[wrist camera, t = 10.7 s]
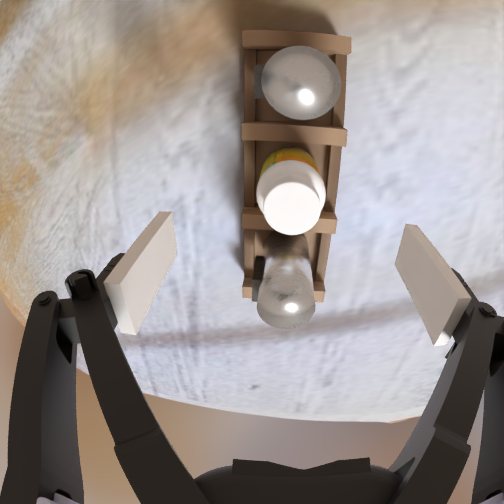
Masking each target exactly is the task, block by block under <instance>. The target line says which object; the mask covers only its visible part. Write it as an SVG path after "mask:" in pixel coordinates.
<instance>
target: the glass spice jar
mask: <svg viewBox="0 0 504 504" xmlns="http://www.w3.org/2000/svg"><path fill="white" fill-rule="evenodd" d="M252 301H255V302H257V311H258V314H259V316H260V317H261V318H262V320H264V321H265V322H266V323H267V324H269V325H271V326H274V327H277V328H285V329H288V328H295V327H298V326H301V325H303V324H305V323H306V322H307V321H309V320H310V319H311V317H312V316H313V314H314V312H315V297H314V288H313V280H312V271H311V263H310V255H309V247H308V242H307V239H306V237H305V236H304V235H303V234H302V233H301V234H297V235H287V234H283V233H280V232H278V231H276V230H275V231H273V232H272V233H271V234H270V235H269V236H268V237H267V239H266V241H265V247H264V255H263V256H259V255H256V259H255V265H254V271H253V277H252Z"/></svg>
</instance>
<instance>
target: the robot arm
mask: <svg viewBox="0 0 504 504" xmlns="http://www.w3.org/2000/svg"><path fill="white" fill-rule="evenodd" d="M176 256H177V246H176V239H175V231H174V223H173V215H172V212H159V213H158V214H157V215H156V216H155V218H154V219H153V220H152V221H151V222H150V224H149V225H148V226H147V227H146V228H145V230H144V231H143V232H142V233H141V234H140V236H139V237H138V238H137V239H136V241H135V242H134V243H133V244H132V246H131V247H130V248H129V249H128V251H127V252H126V253H120V254H118V255H117V256H115V257H114V258H112V259H111V261H110V262H109V263H108V264H107V266H106V267H105V268H104V269H103V271H102V272H101V273H100V274H99V276H98V277H97V278H96V279H95V276H94V273H93V272H92V271H91V270H88V269H82V270H78V271H76V272H73V273H72V274H70V275H69V276H68V277H67V278H66V280H65V286H66V288H67V291H68V293H69V296H70V298H69V299H60V300H59V298H58V296H57V294H56V293H55V292H54V291H45V292H42V293H41V294H39V295H38V296H37V297H36V298H35V299H34V300H33V302H32V305H31V309H30V312H29V316H28V319H27V323H26V327H25V331H24V335H23V339H22V344H21V348H20V352H19V357H18V362H17V367H16V373H15V379H14V386H13V392H12V401H11V409H10V419H9V435H8V467H7V471H6V474H5V478H4V482H3V486H2V490H1V494H0V504H84V490H83V481H82V474H81V466H80V458H79V448H78V437H77V419H76V356H77V343H81V346H82V350H83V353H84V357H85V361H86V364H87V367H88V371H89V374H90V377H91V380H92V383H93V387H94V390H95V393H96V395H97V398H98V401H99V404H100V407H101V409H102V412H103V414H104V417H105V420H106V422H107V425H108V427H109V430H110V432H111V435H112V437H113V439H114V442H115V447H114V450H115V453H116V456H117V458H118V460H119V463H120V465H121V467H122V469H123V471H124V473H125V475H126V477H127V479H128V481H129V483H130V485H131V486H132V488H133V490H134V492H135V494H136V495H137V497H138V499H139V501H140V503H141V504H447V502H448V500H449V498H450V496H451V494H452V492H453V490H454V488H455V486H456V484H457V482H458V480H459V478H460V475H461V473H462V471H463V469H464V466H465V464H466V461H467V459H468V457H469V454H470V450H471V446H470V445H468V444H467V440H468V437H469V434H470V432H471V429H472V426H473V423H474V420H475V417H476V414H477V411H478V408H479V404H480V400H481V397H482V394H483V390H485V391H484V414H483V415H484V416H483V428H482V439H481V446H480V454H479V460H478V466H477V472H476V477H475V482H474V488H473V494H472V502H471V504H504V317H501V316H497V313H496V311H495V309H494V308H493V307H492V306H490V305H489V304H487V303H484V302H479V301H478V300H477V298H476V297H475V295H474V294H473V292H472V291H471V289H470V288H469V287H468V285H467V284H466V282H464V279H463V278H462V277H461V275H460V274H459V273H458V272H456V271H455V270H454V269H453V268H450V267H449V265H448V264H447V263H446V261H445V260H444V259H443V257H442V256H441V255H440V253H439V252H438V251H437V249H436V248H435V247H434V246H433V244H432V243H431V242H430V241H429V239H428V238H427V237H426V236H425V234H424V233H423V232H422V231H421V230H420V228H419V227H418V226H417V225H411V224H405V228H404V232H403V236H402V240H401V244H400V247H399V251H398V254H397V258H396V261H395V267H396V268H397V270H398V272H399V274H400V276H401V278H402V280H403V282H404V284H405V285H406V287H407V289H408V291H409V293H410V295H411V297H412V299H413V301H414V303H415V306H416V308H417V310H418V312H419V314H420V316H421V318H422V320H423V322H424V325H425V327H426V329H427V331H428V334H429V336H430V338H431V340H432V343H433V345H434V346H439V345H447V343H448V342H449V340H450V338H451V336H453V338H454V340H455V342H454V344H453V346H452V347H451V349H450V350H449V352H448V354H447V355H446V357H445V358H446V359H447V361H446V363H445V366H444V368H443V371H442V373H441V375H440V378H439V380H438V382H437V385H436V387H435V389H434V391H433V394H432V396H431V398H430V400H429V402H428V404H427V406H426V408H425V410H424V412H423V414H422V416H421V418H420V420H419V422H418V424H417V425H416V427H415V429H414V431H413V433H412V435H411V437H410V438H409V440H408V441H407V443H406V445H405V447H404V448H403V450H402V452H401V453H400V455H399V456H398V458H397V459H396V461H395V462H394V463H393V464H392V465H391V466H390V467H389V469H388V470H387V469H385V468H382V467H379V466H375V465H370V459H369V457H368V458H359V459H349V460H338V461H335V462H331V463H328V464H325V465H321V466H318V467H314V468H310V469H305V470H302V469H296V468H292V467H288V466H284V465H280V464H276V463H272V462H268V461H252V460H238V459H233V465H232V466H225V467H221V468H217V469H214V470H211V471H208V472H206V473H204V474H202V475H200V476H199V477H197V478H195V479H193V478H192V476H191V475H190V473H189V472H188V470H187V469H186V467H185V466H184V464H183V463H182V461H181V460H180V458H179V457H178V455H177V453H176V452H175V450H174V449H173V447H172V445H171V444H170V442H169V441H168V439H167V437H166V435H165V434H164V432H163V430H162V428H161V427H160V425H159V423H158V422H157V420H156V418H155V416H154V414H153V412H152V410H151V409H150V407H149V405H148V403H147V401H146V399H145V397H144V395H143V393H142V391H141V389H140V387H139V385H138V383H137V381H136V379H135V377H134V375H133V372H132V370H131V368H130V366H129V364H128V362H127V359H126V357H125V355H124V352H123V350H122V348H121V345H120V343H119V341H118V338H117V336H116V333H115V331H114V329H115V327H116V325H117V323H118V325H119V328H120V330H121V333H127V334H133V335H137V333H138V331H139V329H140V327H141V324H142V322H143V320H144V318H145V316H146V314H147V312H148V310H149V308H150V306H151V304H152V302H153V300H154V298H155V296H156V294H157V292H158V290H159V289H160V287H161V285H162V283H163V281H164V279H165V277H166V275H167V273H168V271H169V269H170V268H171V266H172V264H173V262H174V260H175V258H176Z"/></svg>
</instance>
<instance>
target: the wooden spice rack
mask: <svg viewBox="0 0 504 504" xmlns="http://www.w3.org/2000/svg"><path fill="white" fill-rule="evenodd" d="M242 46H243V47H244V49H245V63H244V122H243V123H242V140H244V209H243V212H242V229H244V282H243V286H242V293H243V298H252V277H253V271H254V265H255V259H256V255H259V256H263V255H264V247H265V241H266V239H267V237H268V236H269V235H270V234H271V233H272V232H273V231H275V229H273V228H272V227H271V226H270V225H269V224H268V222H267V221H266V219H265V216H264V214H263V213H262V211H261V210H260V208H259V205H258V202H257V196H256V192H257V185H258V182H259V178H260V174H261V171H262V168H263V165H264V162H265V160H266V159H267V157H268V156H269V155H270V154H271V153H272V152H273V151H275V150H276V149H279V148H281V147H287V146H293V147H298V148H301V149H303V150H305V151H306V152H307V153H309V154H310V155H311V156H312V158H313V159H314V161H315V163H316V165H317V168H318V170H319V172H320V175H321V177H322V179H323V182H324V186H325V191H326V197H325V203H324V206H323V208H322V210H321V213H320V217H319V219H318V221H317V222H316V224H315V225H314V226H313V227H312V228H311V229H310V230H308V231H306V232H304V233H302V234H303V235H304V236H305V237H306V239H307V242H308V247H309V255H310V263H311V271H312V280H313V288H314V297H315V302H323V300H324V295H325V287H324V277H325V271H326V265H327V259H328V253H329V247H330V240H331V234H335V232H336V225H337V218H336V215H335V204H336V196H337V188H338V179H339V170H340V160H341V150H342V146H344V147H346V141H347V130H346V129H345V128H343V125H344V111H345V93H346V67H347V55H348V54H350V53H351V37H347V36H340V35H333V34H324V33H315V32H303V31H287V30H242ZM291 46H308V47H312V48H315V49H317V50H319V51H321V52H323V53H324V54H325V55H327V56H328V57H329V58H330V59H331V60H332V61H333V62H334V64H335V65H336V67H337V69H338V71H339V74H340V77H341V92H340V96H339V98H338V100H337V102H336V104H335V105H334V106H333V107H332V108H331V109H330V110H329V111H328V112H327V113H325V114H324V115H322V116H320V117H317V118H314V119H308V120H298V119H293V118H289V117H287V116H284V115H283V114H281V113H279V112H278V111H276V110H275V109H274V108H273V107H272V106H271V105H270V104H269V102H268V101H267V99H258V98H254V65H266V63H267V61H268V60H269V59H270V58H271V57H272V56H273V55H274V54H275V53H277V52H278V51H280V50H282V49H284V48H287V47H291Z"/></svg>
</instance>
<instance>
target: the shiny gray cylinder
mask: <svg viewBox="0 0 504 504" xmlns="http://www.w3.org/2000/svg"><path fill="white" fill-rule="evenodd" d="M340 92H341V77H340V74H339V71H338V69H337V67H336V65H335V64H334V62H333V61H332V60H331V59H330V58H329V57H328V56H327V55H325V54H324V53H323V52H321V51H319V50H317V49H315V48H312V47H308V46H291V47H287V48H284V49H282V50H280V51H278V52H277V53H275V54H274V55H273V56H272V57H271V58H270V59H269V60H268V61H267V63H266V65H254V98H258V99H267V101H268V102H269V104H270V105H271V106H272V107H273V108H274V109H275V110H276V111H278V112H279V113H281V114H283V115H284V116H287V117H289V118H293V119H298V120H308V119H314V118H317V117H320V116H322V115H324V114H325V113H327V112H328V111H329V110H330V109H331V108H332V107H333V106H334V105H335V104H336V102H337V100H338V98H339V96H340Z"/></svg>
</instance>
